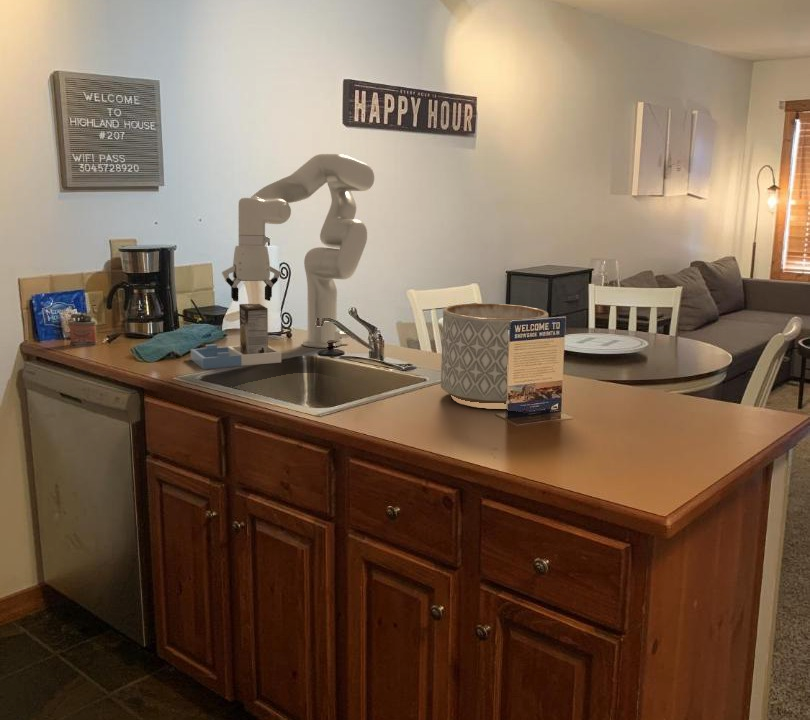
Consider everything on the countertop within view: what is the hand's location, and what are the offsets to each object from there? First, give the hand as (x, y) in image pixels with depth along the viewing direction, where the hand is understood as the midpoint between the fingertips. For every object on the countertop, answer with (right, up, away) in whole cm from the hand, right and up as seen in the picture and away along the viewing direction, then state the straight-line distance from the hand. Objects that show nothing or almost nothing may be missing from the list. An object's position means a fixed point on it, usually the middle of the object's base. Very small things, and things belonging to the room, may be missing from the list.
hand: (251, 300), depth 232 cm
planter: (+66, -27, -34) cm, 79 cm away
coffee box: (0, -17, +4) cm, 18 cm away
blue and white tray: (-5, -18, +2) cm, 18 cm away
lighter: (-57, -13, +19) cm, 61 cm away
